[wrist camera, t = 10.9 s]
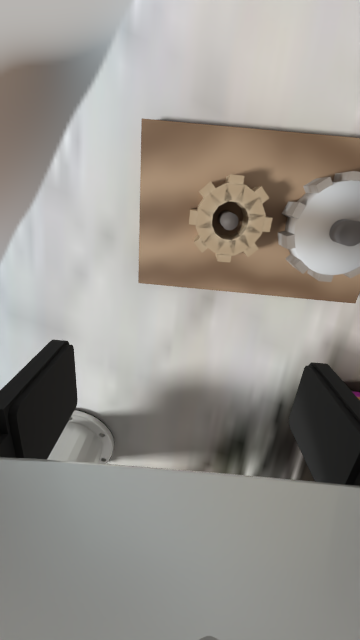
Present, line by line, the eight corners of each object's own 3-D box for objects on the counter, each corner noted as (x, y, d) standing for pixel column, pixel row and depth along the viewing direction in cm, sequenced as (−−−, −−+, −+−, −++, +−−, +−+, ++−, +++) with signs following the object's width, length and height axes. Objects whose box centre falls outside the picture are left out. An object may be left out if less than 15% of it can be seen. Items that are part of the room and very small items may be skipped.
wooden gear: (255, 258, 28) (262, 265, 26) (186, 252, 29) (185, 258, 26) (271, 180, 25) (281, 179, 23) (193, 173, 25) (193, 170, 23)
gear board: (346, 297, 32) (384, 322, 25) (141, 277, 32) (128, 298, 26) (400, 146, 26) (468, 130, 19) (145, 124, 26) (129, 100, 19)
